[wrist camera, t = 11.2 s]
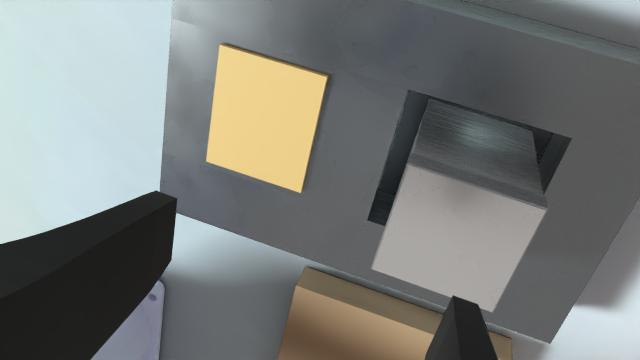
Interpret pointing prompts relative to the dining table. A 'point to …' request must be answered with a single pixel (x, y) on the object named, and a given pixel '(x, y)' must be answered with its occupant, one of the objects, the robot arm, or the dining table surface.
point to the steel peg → (463, 206)
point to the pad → (359, 324)
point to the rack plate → (393, 129)
